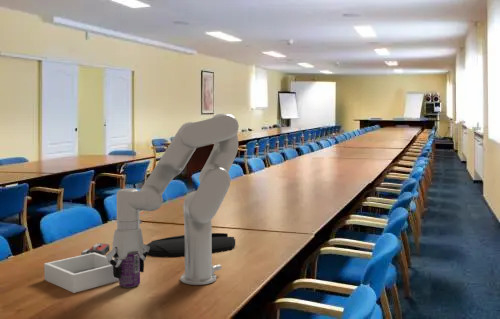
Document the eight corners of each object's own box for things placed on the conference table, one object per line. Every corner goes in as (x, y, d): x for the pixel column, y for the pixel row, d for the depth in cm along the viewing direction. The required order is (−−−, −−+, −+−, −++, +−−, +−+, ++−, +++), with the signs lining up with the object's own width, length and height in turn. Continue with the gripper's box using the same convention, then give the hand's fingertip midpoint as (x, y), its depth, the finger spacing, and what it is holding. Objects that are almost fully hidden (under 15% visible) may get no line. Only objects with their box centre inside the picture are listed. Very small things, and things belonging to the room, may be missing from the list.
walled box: (94, 267, 205) (94, 252, 204) (125, 278, 191) (124, 262, 191) (44, 279, 190) (44, 263, 190) (73, 292, 177) (73, 275, 176)
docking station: (136, 247, 237) (135, 236, 237) (220, 238, 254) (220, 227, 254) (150, 262, 215) (150, 249, 214) (242, 250, 232) (242, 239, 232)
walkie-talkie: (91, 250, 233) (74, 262, 213) (90, 240, 232) (74, 252, 212) (111, 250, 232) (96, 263, 213) (110, 240, 232) (96, 252, 212)
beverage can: (138, 281, 189) (138, 247, 188) (141, 287, 182) (140, 252, 181) (118, 283, 187) (117, 249, 186) (120, 289, 180) (119, 254, 179)
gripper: (142, 219, 191) (143, 267, 193) (99, 227, 179) (100, 277, 180) (155, 223, 186) (156, 271, 188) (112, 230, 174) (113, 282, 175)
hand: (128, 274), depth 184 cm, fingers open, 9 cm apart
